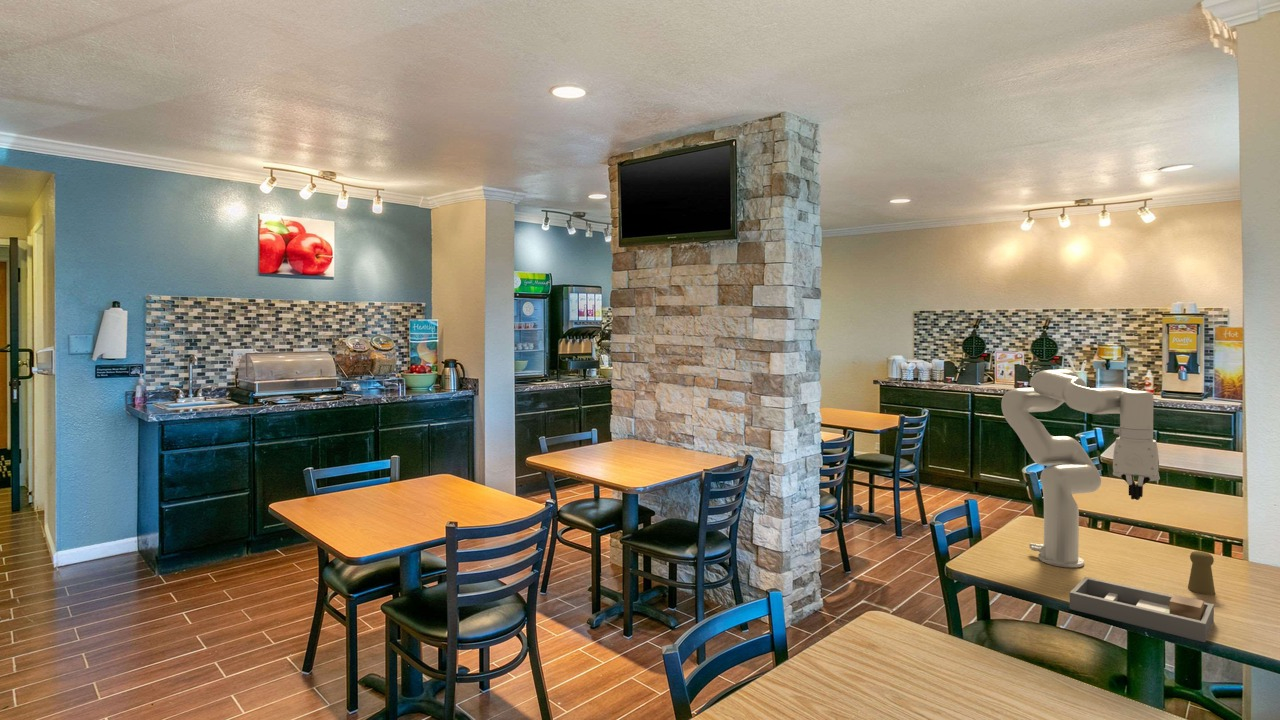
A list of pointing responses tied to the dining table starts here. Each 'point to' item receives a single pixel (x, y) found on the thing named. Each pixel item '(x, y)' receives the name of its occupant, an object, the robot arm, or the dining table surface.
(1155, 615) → the channel
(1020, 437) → the robot arm
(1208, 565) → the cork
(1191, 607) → the walnut block
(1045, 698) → the dining table surface
